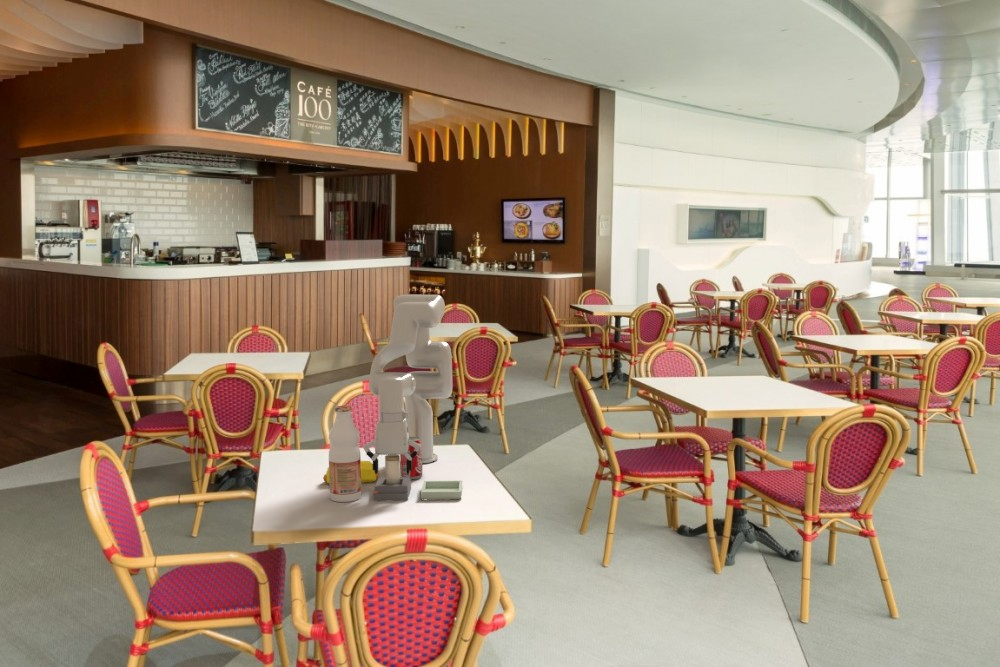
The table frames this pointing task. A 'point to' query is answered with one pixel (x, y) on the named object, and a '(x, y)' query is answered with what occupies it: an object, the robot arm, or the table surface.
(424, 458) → the robot arm
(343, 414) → the fruit juice
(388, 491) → the socket block
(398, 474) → the cylinder
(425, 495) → the parts tray
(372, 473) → the yellow mustard bottle
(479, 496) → the table surface
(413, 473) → the soda can
